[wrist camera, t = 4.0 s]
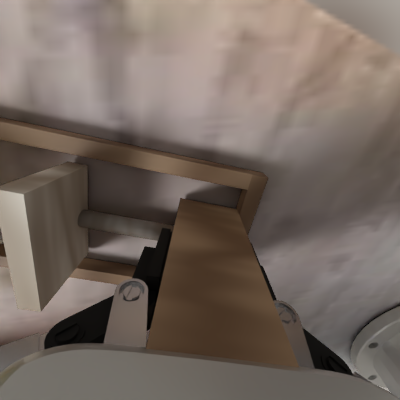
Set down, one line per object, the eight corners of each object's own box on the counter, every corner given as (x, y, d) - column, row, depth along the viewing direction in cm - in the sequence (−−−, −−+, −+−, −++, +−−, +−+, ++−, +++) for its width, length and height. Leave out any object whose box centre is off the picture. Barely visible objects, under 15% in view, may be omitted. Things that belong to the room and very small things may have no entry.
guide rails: (262, 172, 13) (268, 177, 12) (222, 289, 17) (224, 300, 16) (-29, 111, 12) (-53, 110, 11) (3, 254, 16) (-12, 264, 15)
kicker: (241, 196, 14) (329, 369, 4) (216, 273, 16) (238, 482, 7) (67, 161, 13) (-290, 288, 3) (72, 250, 15) (-121, 454, 6)
